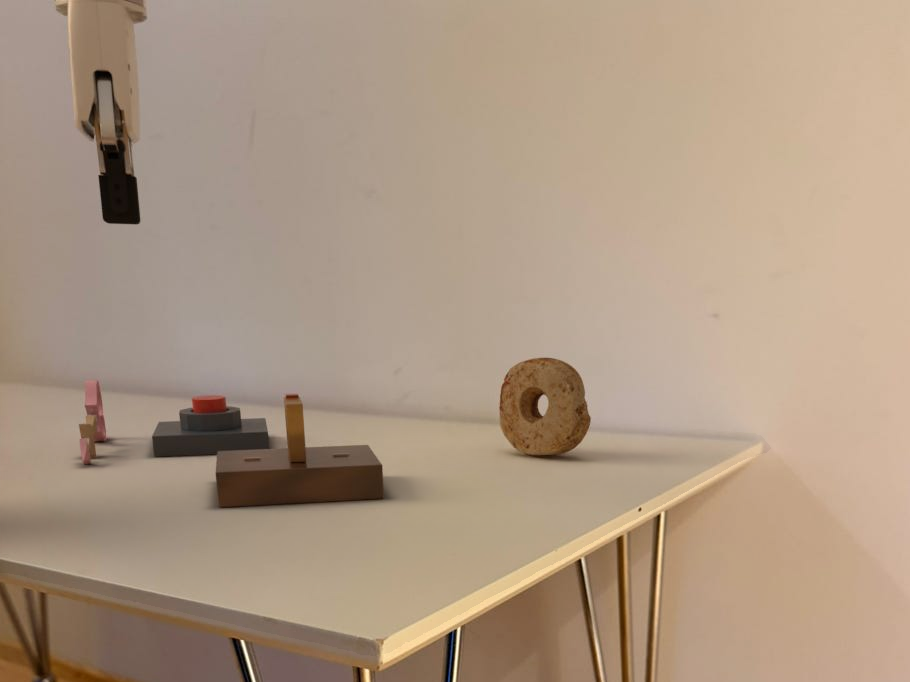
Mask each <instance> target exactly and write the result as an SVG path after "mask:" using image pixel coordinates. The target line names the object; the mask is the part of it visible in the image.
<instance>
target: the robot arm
mask: <svg viewBox="0 0 910 682" xmlns="http://www.w3.org/2000/svg"><path fill="white" fill-rule="evenodd" d="M146 1H147V0H54V4H55V6H54V7H55V10H56V12H57V13H59V14H61V15H62V16H65V17H67V40H68V54H69V65H70V67H69V68H70V79H71V90H72V91H71V92H72V103H73V115H74V117H73V118H74V126H75V128H76V129H77V130H78V131H79V133H80V134H82V136H83V137H84V138H86V139H87V140H88V141H89V142H92V143H93V142H96V143H95V144H96V151H97V159H98V168H99V174H98V177H97V178H98V186H99V195H100V204H101V205H100V206H101V215H102V221H103V222H105V223H107V224H110V225H139V224H141V209H140V199H139V188H138V179H137V177H136V176H135V166H134V165H135V164H134V151H133V144H134V145H135V144H136V143H137V142H139V141H140V139H141V122H140V121H141V117H140V115H141V114H140V111H141V110H140V93H139V92H140V90H139V89H140V88H139V78H138V77H139V75H138V61H137V47H136V37H135V25H136V24H141V23H143V22H145V21H147V19H148V14H147V2H146Z"/></svg>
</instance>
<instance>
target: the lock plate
mask: <svg viewBox="0 0 910 682" xmlns="http://www.w3.org/2000/svg"><path fill="white" fill-rule="evenodd" d="M305 447H306V462H290V459H289V454H288V447H285V448H284V447H283V448H280V447H279V448H269V449H257V450H233V451H218V452H217V454H216V462H215V463H216V464H215V482H216V492H217V501H218V502H217V503H218V507H219V508H234V507H235V508H237V507H251V506H252V507H253V506H270V505H271V506H272V505H289V504H290V505H291V504H304V503H305V504H307V503H326V502H344V501H345V502H346V501H363V500H382V499H384V498H385V497H384V495H385V494H384V473H383V472H384V470H383V469H384V468H383V464H382V462H381V461H380V460H379V458H378V456H377V455H376V454H375V453H374V451H373V450H372V448H371V447H370V446H369V444H354V445H353V444H352V445H336V446H335V445H329V446H328V445H327V446H305Z"/></svg>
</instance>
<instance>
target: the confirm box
mask: <svg viewBox="0 0 910 682" xmlns="http://www.w3.org/2000/svg"><path fill="white" fill-rule="evenodd" d="M226 407H227V411H225V412H216V413H194V412H193V407H188V408H183V409H180V410H179V412H178V416H179V420H175V421H174V420H173V421H170V420H169V421H158V423H157V424H156V427H155V429H154V431H153V433H152V436H151V440H152V448H153V456H154V457H155V458H158V457H160V458H161V457H183V456H206V455H208V456H209V455H217V452H218V451H233V450H257V449H270V441H269V440H270V439H269V429H268V426H267V419H266V418H265V417H258V418H257V417H255V418H242V413H241V408H240V407H236V406H231V405H230V406H228V405H226Z"/></svg>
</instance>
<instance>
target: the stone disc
mask: <svg viewBox="0 0 910 682" xmlns="http://www.w3.org/2000/svg"><path fill="white" fill-rule="evenodd" d="M500 387H501V388H500V395H499V426H500V429H501V432H502V434H503V436H504V437H505V439H506V440H507V441H508V443H509V445H510V446H512V447H513V448H514V449H515V450H517V451H518V452H520V453H521V454H525V455H529V456H557V455H562V454H566V453H569V452H571V451H573V450H574V449H575V448H576V447H578V446H579V445H580V444H581V443H582V441H583V440H584V439H585V437H586V435H587V433H588V431H589V429H590V427H591V426H590V425H591V421H592V420H591V419H592V417H591V415H590V414H589V413H590V412H589V410H588V402H587V401H586V390H585V385H584V381H583V379H582V376H581V375H580V373H579V372H578V370H576V369H575V368H574V367H573V366H572V365H571V364H569V363H568V362H566V361H563V360H561V359H558V358H554V357H535V358H530V359H526V360H522V361H521V362H518V363H516V364H515V365H513V366H511V368H510V369H509V370H508V372H507V373H506V374H505V376H504V378H503V383H502V384H501V386H500ZM542 396H545V397H546V399H547V402H548V403H547V408H546V411H545V414H543V415H542V414H541V413H540V410H539V400H540V399H541V397H542Z"/></svg>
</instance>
